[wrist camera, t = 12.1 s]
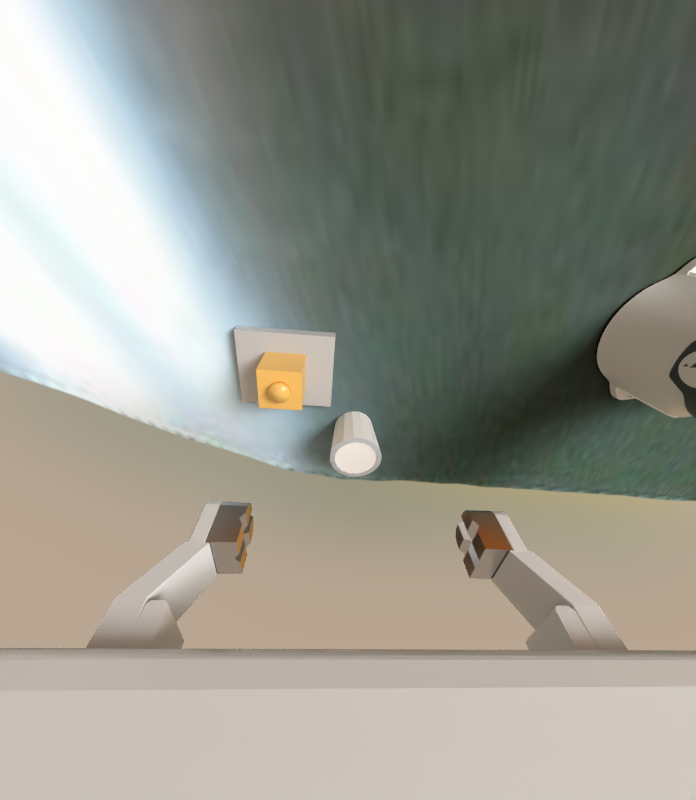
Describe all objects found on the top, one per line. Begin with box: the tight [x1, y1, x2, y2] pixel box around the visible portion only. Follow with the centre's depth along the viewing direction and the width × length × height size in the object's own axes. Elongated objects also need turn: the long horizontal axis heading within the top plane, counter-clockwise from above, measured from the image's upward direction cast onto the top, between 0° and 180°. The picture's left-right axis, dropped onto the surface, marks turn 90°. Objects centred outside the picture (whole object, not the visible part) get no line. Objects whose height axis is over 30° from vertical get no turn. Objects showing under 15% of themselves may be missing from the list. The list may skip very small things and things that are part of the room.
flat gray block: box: [234, 326, 335, 407], centre depth 38 cm, size 12×10×5 cm
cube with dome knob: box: [256, 352, 306, 410], centre depth 36 cm, size 5×5×6 cm
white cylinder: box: [330, 411, 382, 477], centre depth 43 cm, size 7×7×7 cm
